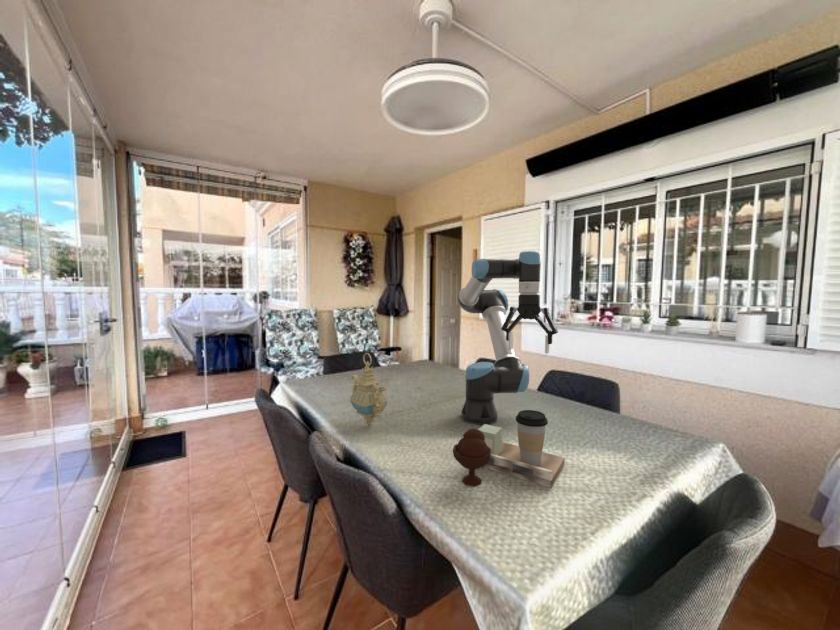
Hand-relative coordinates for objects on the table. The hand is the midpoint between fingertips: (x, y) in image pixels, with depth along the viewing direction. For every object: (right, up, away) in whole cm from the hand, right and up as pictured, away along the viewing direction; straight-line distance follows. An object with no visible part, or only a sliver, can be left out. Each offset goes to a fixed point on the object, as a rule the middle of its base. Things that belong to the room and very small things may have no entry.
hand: (528, 351), depth 132 cm
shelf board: (-9, -34, -20) cm, 40 cm away
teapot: (-61, -32, +11) cm, 69 cm away
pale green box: (-18, -31, -17) cm, 40 cm away
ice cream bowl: (-25, -35, -29) cm, 52 cm away
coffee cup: (-6, -32, -23) cm, 40 cm away
